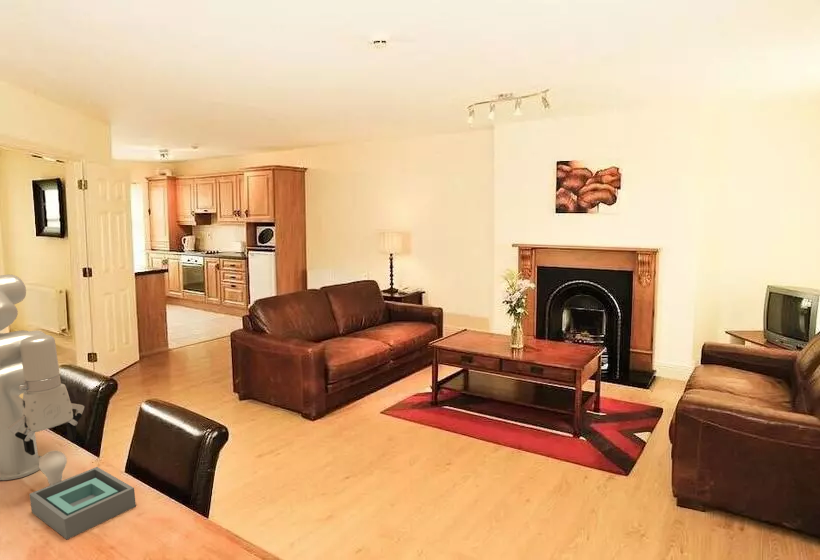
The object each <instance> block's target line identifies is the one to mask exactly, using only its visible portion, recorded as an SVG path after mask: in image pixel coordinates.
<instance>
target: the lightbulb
mask: <svg viewBox="0 0 820 560" xmlns="http://www.w3.org/2000/svg"><path fill="white" fill-rule="evenodd" d="M67 459H68V458H67V456H66V454H65V453H64V452H62V451H59V450H50V451H47V452H46V453H45V454H43V455H42V458H41V459H40V462H39V468H40V470H39V471H41V472H42V474H43V475H44V476H45V477H46V479H47V482H48V484H49V486H50V485H53V484H55V483H58V482H60V481H63V473H64V470H65V468H66V465H67V462H68V460H67Z"/></svg>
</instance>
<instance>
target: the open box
mask: <svg viewBox="0 0 820 560" xmlns="http://www.w3.org/2000/svg"><path fill="white" fill-rule="evenodd" d="M28 495H29V503H30V509H31V513H32V514H33V515H34V516H36V517H37V518H38V519H39V520H41V521H42V522H43V523H45V524H46V525H47V526H49V527H50V528H51V529H53V531H55V532H56V533H58V534H59V535H60V536H61V537H62V538H64V540H70V539H72V538H73V537H75V536H77V535H80V534H81V533H84V532H86V531H89V530H90V529H92V528H94V527H97V526H98V525H100V524H103V523H105V522H106V521H108V520H111V519H113V518H114V517H117V516H119V515H121V514H123V513H125V512H128V511H129V510H131V509H133V508H136V507H137V502H136V495H135V487H133V486H131V485H129V484H128V483H126V482H124V481H123V480H121V479H119V478H118V477H115V476H114V475H112V474H110V473H108V472H107V471H105V470H103V469H102V468H100V467H98V466H96V467H93V468H90V469H88V470H86V471H83V472H80V473H78V474H75V475H73V476H71V477H68V478H65V479H62V481H60V482H58V483H55V484H53V485H50V484H49V485H48V486H46V487H43V488H40V489H38V490H35V491H33V492H31V493H29V494H28Z"/></svg>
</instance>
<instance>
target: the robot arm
mask: <svg viewBox="0 0 820 560" xmlns="http://www.w3.org/2000/svg"><path fill="white" fill-rule="evenodd" d="M26 295H27V289H26V285H25V283H24V281H23V279H21V278H20V277H19V276H17V275H15V274H1V275H0V481H10V480H16V479H20V478H23V477H27V476H30V475H32V474H34V473H36V472H38V471H41V470H40V468H39V462H40V459H41V458H42V457H43V455H42V456H41V455H39V454H38V452H39V451H38V447H37V446H38V445H37V439H36V433H38V432H42V431H45V430H49V429H52V428H55V427H57V426H61V425H64V424H66V425H65V426H66V427H65V428H66V434H67V435H66V436H67V439H69V440H70V441H73V442H74V441H75V442H76V440H77V438H76V436H77V435H78V433H77V425H78V422H79V420H81V418H82V417H83V416H82V415H83V412H84V410H85V405H83V404H79V403H72V401H71V400H70V399H71V398H70V396H69V392H68V390H67V386H66V384H65V383H62V382H61V376H60V374H61V373H60V366H59V361H58V352H57V351H58V350H57V345H56V339H55V338H54V336H52V335H50V334H46V333H45V332H44V331H42V330H29V331H28V330H24V329H23V330H16V331H15V330H14V331H10V332H5V333H4V332H1V331H3V330H4V329H6V328H7V327H10V325H12V324H13V323H14V322H15V320H16V319H17V317H18V314H19V311H18V308H17V306H16V305H17V304H19V303H21V302H22V301H23V300H25V298H26V297H27V296H26ZM20 395H22V398H21V396H20ZM73 410H75V413H74V411H73Z"/></svg>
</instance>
